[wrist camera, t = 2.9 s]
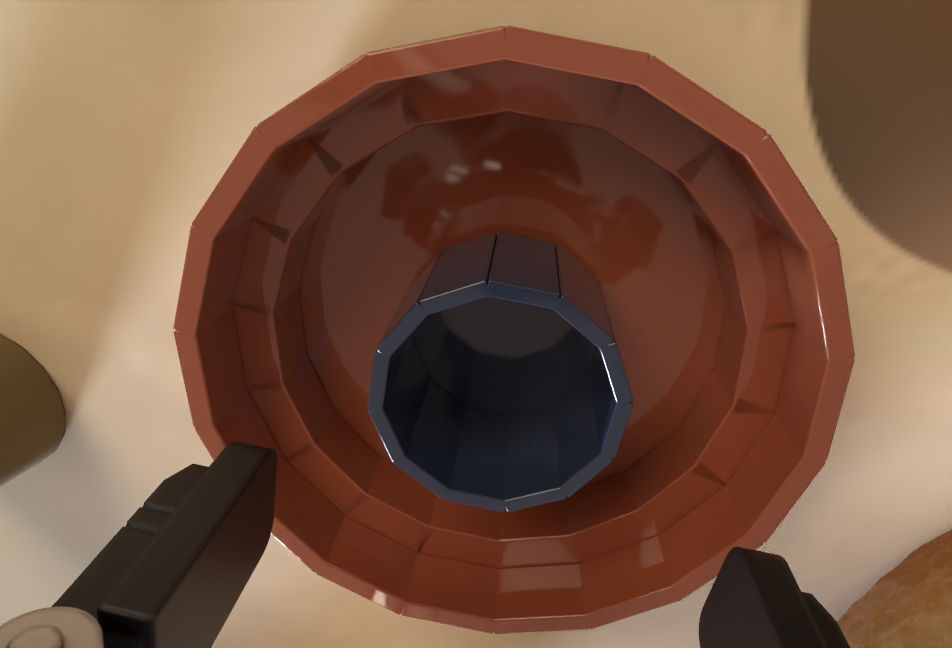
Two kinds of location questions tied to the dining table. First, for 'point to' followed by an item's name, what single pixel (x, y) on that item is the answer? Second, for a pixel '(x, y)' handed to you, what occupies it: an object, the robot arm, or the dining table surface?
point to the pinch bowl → (501, 376)
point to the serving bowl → (585, 239)
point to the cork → (26, 412)
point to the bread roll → (907, 603)
